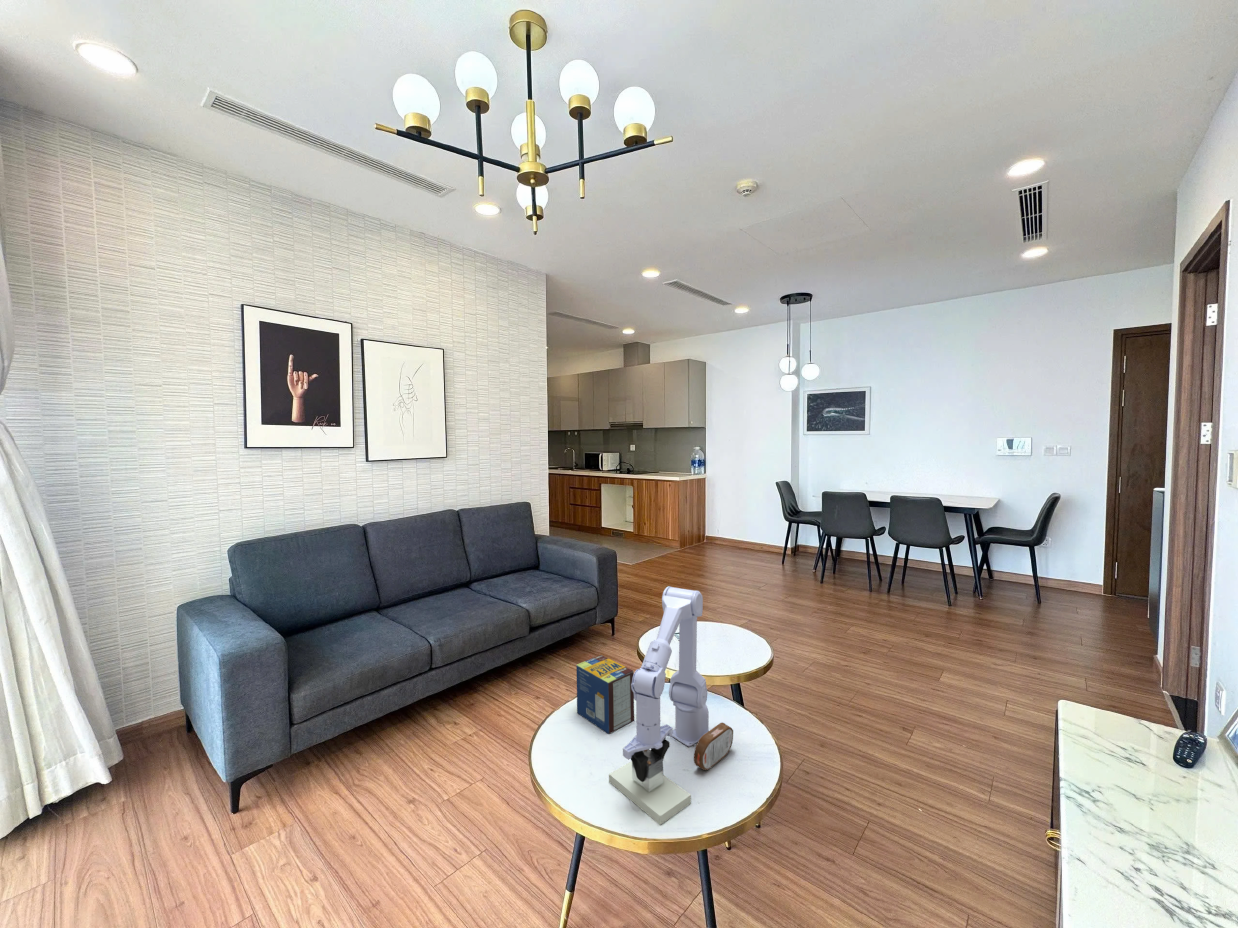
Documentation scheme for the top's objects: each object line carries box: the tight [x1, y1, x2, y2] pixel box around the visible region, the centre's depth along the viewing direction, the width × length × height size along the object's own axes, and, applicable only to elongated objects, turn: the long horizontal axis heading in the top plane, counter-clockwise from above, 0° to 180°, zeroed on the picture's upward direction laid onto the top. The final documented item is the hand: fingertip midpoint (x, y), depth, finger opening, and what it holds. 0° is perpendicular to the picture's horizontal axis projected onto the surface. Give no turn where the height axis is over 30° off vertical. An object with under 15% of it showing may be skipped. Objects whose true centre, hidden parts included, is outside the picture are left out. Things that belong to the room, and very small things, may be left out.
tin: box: [693, 722, 734, 771], centre depth 130 cm, size 15×3×8 cm, turn 135°
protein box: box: [576, 654, 635, 735], centre depth 151 cm, size 10×15×16 cm
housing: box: [632, 749, 664, 792], centre depth 119 cm, size 5×6×6 cm
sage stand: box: [608, 760, 692, 825], centre depth 119 cm, size 10×18×2 cm, turn 40°
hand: (648, 774), depth 119 cm, fingers closed on housing, 5 cm apart
